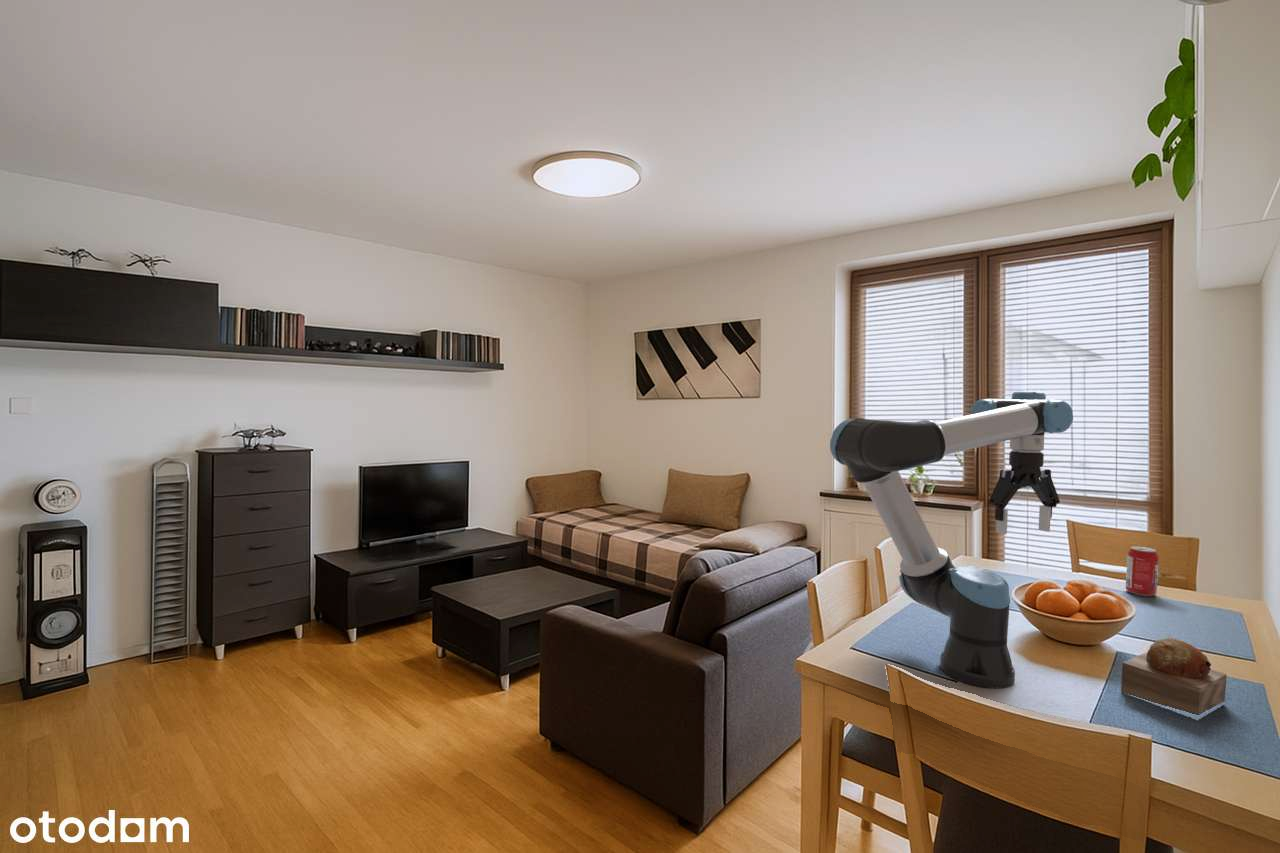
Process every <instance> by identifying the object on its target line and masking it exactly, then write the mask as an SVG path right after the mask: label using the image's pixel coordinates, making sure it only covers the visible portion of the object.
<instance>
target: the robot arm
mask: <svg viewBox="0 0 1280 853" xmlns="http://www.w3.org/2000/svg"><path fill="white" fill-rule="evenodd" d="M1073 421H1074V414H1073V409H1072V407H1071V405H1070V404H1069V403H1068V402H1067V401H1064V400H1059V399H1052V398H1050V399H1047V395H1046V393H1044V392H1043V391H1014V392H1012V394H1011V398H988V397H987V398H985V399H984V398H983V399H982V398H981V399H979V400H976V401H975V402H974V403H973V405H972V406H971V408H970V414H968V415H964V416H963V415H962V416H959V417H954V418H950V419H946V420H939V421H936V422H935V421H933V420H931V419H923V420H919V421H897V420H896V421H893V420H887V419H886V420H882V419H881V420H880V419H866V418H864V417H855V418H849V419H846V420H844V421H842V422H841V423H838V425H836V427H835V429H834V430H833V432H832V435H831V438H830V441H829V450H830V452H831V455H832V457H833V459H834V460H835V461H836V462H838V463H839V464H840V465H843V466H846V467H847V470H848V471H849V473H850V475H851V477H852V479H853V480H854V482H855V483H857V484H861V485H863V486H864V487H865V489H866V492H867V493H868V496H869V497H870V499H871V501H872V503H873V504H874V507H875V509H876V511H877V512H878V515H879V517H880V518H881V521H882V523H883V525H884V526H885V528H886V530H887V532H888V534H889V536H890V537H891V540H892V542H893V544H894V546H895V547H896V549H897V551H898V553H899V555H900V557H901V561H900V562H899V563H900V564H899V567H900V569H899V572H900V575H899V576H898V580H899V583H900V586H901V588H902V591H904V593H905V595H907V596H908V597H909V598H910V599H911V600H913V601H914V602H916V603H918V604H919V605H922V606H925V607H927V608H929V609H930V610H931V609H932V610H934V611H935V612H938V613H940V614H942V615H944V616H947V618H949V635H948V638H947V640H946V643H945V646H944V649H943V651H942V652H941V654H940V657H939V659H940V660H939V667H940V670H942V672H943V673H944V674H946V675H947V676H949V677H951V679H955V680H957V681H959V682H962V683H965V684H968V685H971V686H976V687H980V688H981V687H982V688H986V689H987V688H988V689H1001V688H1007V687H1011V686H1012V685H1014V683H1015V680H1016V679H1015V677H1016V676H1015V675H1016V670H1015V667H1014V665H1013V662H1012V658H1011V655H1010V651H1009V648H1008V634H1009V617H1010V616H1009V615H1010V602H1011V597H1010V586H1009V584H1008V582H1007V581H1006V579H1004V578H1003V577H1002V576H1001V575H1000V574H998V573H996V572H993V571H991V570H988V569H985V568H979V567H975V566H970V565H969V566H968V565H962V566H960V565H959V566H957V567H956V566H955V565H954V564H953V563H952V560H951V559H950V557H949V554H948V552H947V551H946V550H945V549H944V548H942V547H939V546H937V545H936V543H935V541H934V539H933V537H932V535H931V533H930V531H929V530H928V527H927V525H926V523H925V522H924V519H923V517H922V515H921V513H920V511H919V509H918V507H917V506H916V504H915V502H914V499H913V498H912V496H911V494H910V491H909V489H908V487H907V485H906V484H905V481H904V479H903V478H902V476H901V474H900V472H901V471H905V470H911V469H914V468H918V467H922V466H927V465H931V464H934V463H937V462H940V461H941V460H943V459H944V458H945V456H948V455H951V454H956V453H960V452H961V453H962V452H965V451H969V450H972V449H973V450H974V449H978V448H980V447H981V448H982V447H985V446H986V447H987V446H990V445H994V444H998V443H1003V442H1007V441H1009V448H1010V452H1009V458H1008V461H1009V462H1008V464H1009V465H1010V466H1011V468H1010V470H1008V469H1003V468H1002V469H1000V471H999V477H998V479H997V482H996V484H995V486H994V489H993V490H992V493H991V495H990V497H989V498H988V499H989V500H988V502H987V504H988V505H989V506H991V507H994V519H995V520H996V521H995V532H996V533H998V534H999V533H1000V534H1002V535H1007V534H1008V518H1009V517H1008V515H1009V514H1008V513H1009V509H1008V508H1006V507H1007V506H1008V505H1009V503H1010V502H1011V500H1012V499H1013V497H1014V496H1015V495H1016V493H1017V492H1018V491H1019V490H1021V489H1022V488H1028V487H1029V488H1031V489H1032V490H1033V492H1034V493H1035V495H1036V496H1037V497H1038V500H1039V501H1040V503H1041V504H1042V505H1040V504H1039V515H1038V530H1039V531H1044V532H1048V533H1049V532H1050V533H1051V519H1052V517H1053V508H1056V507H1057V505H1058V504H1060V503H1061V501H1060V497H1059V496H1058V493H1057V490H1056V487H1055V484H1054V481H1053V479H1052V471H1051V469H1048V468H1042V467H1043V466H1044V457H1045V454H1044V452H1042V451H1044V449H1045V433H1049V434H1054V433H1055V434H1058V433H1063V432H1066V431H1067V430H1069V428H1070V427H1071V426H1072V425H1073V424H1072V423H1073ZM899 471H900V472H899Z"/></svg>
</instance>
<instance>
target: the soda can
mask: <svg viewBox="0 0 1280 853" xmlns="http://www.w3.org/2000/svg"><path fill="white" fill-rule="evenodd" d="M1159 557H1160V556H1159V554H1158V553H1157V550H1156V549H1155V548H1151V547H1146V546H1134V545H1133V546H1130V549H1129V550H1127V557H1126V573H1125V574H1126V575H1125V590H1126V591H1127V592H1129V594H1133V595H1136V596H1138V597H1139V596H1140V597H1153V596H1156V595H1157V592H1158V578H1159V576H1158V574H1159V560H1160V558H1159Z"/></svg>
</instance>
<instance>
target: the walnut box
mask: <svg viewBox="0 0 1280 853" xmlns="http://www.w3.org/2000/svg"><path fill="white" fill-rule="evenodd" d="M1147 652H1148V651H1146V652H1144V653H1142V654H1139V655H1136V656H1134V657H1132V658H1129V659H1127V660H1125V661H1122V666H1121V683H1120V693H1121V692H1122V693H1121V694H1123V693H1126V694H1129V695H1133V696H1136V697H1139V698H1142V699H1145V700H1148V701H1151V702H1154V703H1158V704H1161V705H1164V706H1169V707H1172V708H1175V709H1179V710H1183V711H1186V712H1189V713H1192V714H1196V715H1200V714H1202V713H1203V712H1205V711H1206V710H1209V709H1211V708H1212V707H1214V706H1216V705H1218V704H1220V703H1222V702H1224V701H1225V702H1226V686H1227V675H1228V674H1227V673H1224V672H1222V671H1221V672H1220V671H1217V670H1214V669H1211V670H1210V672H1209V674H1208V675H1207V676H1206V677H1204V678H1200V679H1193V678H1185V677H1179V676H1174V675H1170V674H1167V673H1164V672H1161V671H1158V670H1156V669H1154V668H1153V667H1151V666H1150V664H1149V663H1148V661H1147V659H1146V658H1147V657H1146V656H1147ZM1126 694H1125V695H1126ZM1129 695H1128V696H1129Z"/></svg>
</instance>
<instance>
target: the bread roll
mask: <svg viewBox="0 0 1280 853" xmlns="http://www.w3.org/2000/svg"><path fill="white" fill-rule="evenodd" d="M1146 652H1147V656H1146V657H1147V658H1146V659H1147V661H1148V663H1149V664H1150V666H1151V667H1153V668H1154V669H1156V670H1158V671H1161V672H1164V673H1167V674H1170V675H1174V676H1179V677H1185V678H1193V679H1200V678H1204V677H1206V676H1207V675H1208V674H1209V672H1210V670H1212V668H1211V666H1212V664H1211V662H1210V661H1209V659H1208V657H1207V655H1205V654H1204V653H1203V652H1202V651H1201V650H1200V649H1199V648H1197V647H1195V646H1194V645H1192V644H1190V643H1188V642H1185V641H1183V640H1180V639H1177V638H1174V637H1167V638H1161V639H1158V640H1155V641H1154V642H1153V643H1152V644H1151V645H1150V646H1149V649H1148V650H1147V651H1146Z"/></svg>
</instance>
